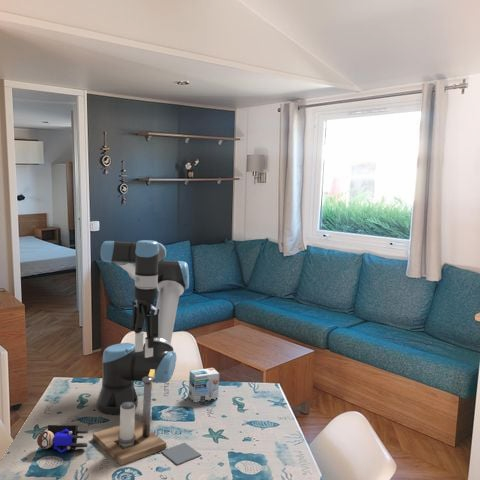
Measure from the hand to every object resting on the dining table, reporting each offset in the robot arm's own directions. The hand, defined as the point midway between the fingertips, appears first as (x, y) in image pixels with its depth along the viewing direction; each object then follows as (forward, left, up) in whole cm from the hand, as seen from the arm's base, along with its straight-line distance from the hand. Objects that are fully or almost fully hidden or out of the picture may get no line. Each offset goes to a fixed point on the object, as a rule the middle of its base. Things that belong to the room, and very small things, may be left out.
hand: (143, 353), depth 165 cm
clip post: (+8, -3, -25) cm, 26 cm away
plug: (+8, -10, -27) cm, 30 cm away
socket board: (+6, -8, -27) cm, 29 cm away
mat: (+21, +2, -27) cm, 34 cm away
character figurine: (-3, -26, -27) cm, 38 cm away
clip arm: (+2, +2, -11) cm, 11 cm away
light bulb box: (-8, +33, -27) cm, 43 cm away
